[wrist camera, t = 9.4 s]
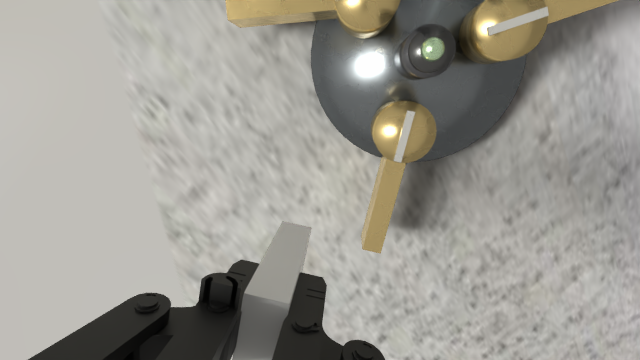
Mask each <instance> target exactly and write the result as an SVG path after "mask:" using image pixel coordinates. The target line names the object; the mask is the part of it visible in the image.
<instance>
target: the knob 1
mask: <svg viewBox="0 0 640 360" xmlns="http://www.w3.org/2000/svg"><path fill="white" fill-rule="evenodd" d="M225 1H226V9H227V17H228V21H230V22H232V23H233V24H235V25H237V26H238V27H240V28H242V27H253V26H264V25H274V24H285V23H296V22H306V21H317V20H328V19H338V21H339V23H340V25H341V27H342V28H343V29H344V30H345V31H346V32H347V33H348V34H350V35H351V36H354V37H357V38H370V37H374V36H376V35H378V34H379V33H381V32H382V31H383V30H384V29H385V28H386V27H387V26H388V24H389V23H390V21H391V19H392V17H393V16H394V14H395V12H396V10H397V8H398V6H399V3H400V0H225Z"/></svg>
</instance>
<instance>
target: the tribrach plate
mask: <svg viewBox="0 0 640 360" xmlns="http://www.w3.org/2000/svg"><path fill="white" fill-rule="evenodd" d="M483 1H484V0H400V3H399V6H398V8H397V10H396V12H395V14H394V16H393V17H392V19H391V21H390V23H389V24H388V26H387V27H386V28H385V29H384V30H383V31H382V32H381V33H379V34H378V35H376V36H374V37H370V38H357V37H354V36H351V35H350V34H348V33H347V32H346V31H345V30H344V29H343V28H342V27H341V25H340V23H339V21H338V19H328V20H317V23H316V27H315V31H314V35H313V41H312V49H311V68H312V76H313V82H314V86H315V90H316V93H317V96H318V98H319V101H320V104H321V106H322V108H323V109H324V111H325V113H326V115H327V117H328V118H329V119H330V121H331V122H332V124H333V125H334V126H335V127H336V129H337V130H338V131H339V132H340V133H341V134H342V135H343V136H344V137H345V138H347V139H348V140H349V141H350V142H352V143H353V144H354V145H356V146H357V147H359V148H361V149H362V150H364V151H366V152H368V153H370V154H373V155H375V156H378V157H381V158H382V154H381V153H380V151H379V150H378V148H377V146H376V145H375V143H374V141H373V139H372V136H371V122H372V118H373V116H374V115H375V113H376V112H377V110H378V109H379V108H380V107H382V106H383V105H384V104H386V103H388V102H391V101H396V100H403V101H411V102H416V103H418V104H421V105H422V106H424V107H425V108H427V109H428V110H429V112H430V113H431V114H432V116H433V118H434V120H435V123H436V131H437V132H436V138H435V141H434V144H433V146H432V148H431V149H430V150H429V152H428V153H427V154H426V155H424V156H423V157H422V158H420V159H418V160H416V161H414V162H421V161H429V160H433V159H438V158H442V157H445V156H447V155H450V154H453V153H455V152H457V151H459V150H461V149H463V148H465V147H467V146H468V145H470V144H471V143H473V142H475V141H476V140H478V139H479V138H480V137H481V136H482V135H484V134H485V133H486V132H487V131H488V130H489V129H490V128H491V127H492V126H493V125H494V124H495V123H496V122H497V121H498V120H499V119H500V117H501V116H502V115H503V113H504V112H505V110H506V109H507V108H508V106H509V104H510V103H511V101H512V99H513V97H514V96H515V93H516V91H517V89H518V86H519V84H520V82H521V78H522V75H523V71H524V68H525V63H526V56H527V54H525V55H523V56H521V57H519V58H515V59H511V60H506V61H501V62H497V63H492V64H479V63H476V62H473V61H472V60H470V59H469V58H468V57H466V55H465V54H464V53H463V51H462V49H461V47H460V43H459V30H460V27H461V24H462V22H463V20H464V18H465V17H466V15H467V14H468V13H469V12H470V11H471V10H472V9H473V8H474V7H476V6H477V5H479V4H480V3H482V2H483Z"/></svg>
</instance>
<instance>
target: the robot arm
mask: <svg viewBox="0 0 640 360" xmlns="http://www.w3.org/2000/svg"><path fill="white" fill-rule="evenodd" d="M310 233H311V227H306V226H302V225H298V224H293V223H289V222H284V221H283V222H282V223H281V225H280V227H279V229H278V231H277V233H276V235H275V236H274V238H273V240H272V242H271V244H270V246H269V247H268V249H267V251H266V253H265V255H264V257H263V259H262V260H261V262H260V264H258V263H254V262H250V261H245V260H240V261H238V262H236V263H234V264H233V265H232V266H231V268H230V269H229V271H228V272H227V273H213V274H210V275H207V276H205V277H204V278H203V279H202V280H201V288H200V295H199V302H198V303H197V304H196V306H193V307H182V308H181V307H171V302H170V300H169V298H167V297H166V296H164V295H161V294H158V293H144V294H139V295H136V296H134V297H132V298H130V299H128V300H127V301H125V302H123V303H122V304H120V305H118V306H117V307H115V308H113V309H112V310H110V311H108V312H107V313H105V314H103V315H102V316H100V317H98V318H97V319H95V320H94V321H92V322H90V323H88V324H87V325H85V326H83V327H82V328H80V329H78V330H77V331H75V332H73V333H72V334H70V335H69V336H67V337H65V338H63V339H62V340H60V341H58V342H57V343H55V344H54V345H52V346H50V347H48V348H47V349H45V350H43V351H42V352H40V353H38V354H37V355H35V356H33V357H32V358H30V359H28V360H230V359H231V357H232V355H233V359H232V360H385V358H384V356H383V355H382V353H381V352H380V350H378V349H377V348H376V347H375V346H374V345H372V344H370V343H368V342H366V341H361V340H351V341H349V342H347V343H345V345H344V346H342V345H340V344H338V343H337V342H335V341H333V340H332V339H331V338H329V337H328V336H327V335H326V333H325V332H324V330H323V327H322V320H323V311H324V303H325V295H326V286H327V285H326V283H325V281H324V279H323V278H322V277H318V276H314V275H310V274H305V273H302V270H303V265H304V260H305V256H306V251H307V247H308V242H309V237H310Z"/></svg>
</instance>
